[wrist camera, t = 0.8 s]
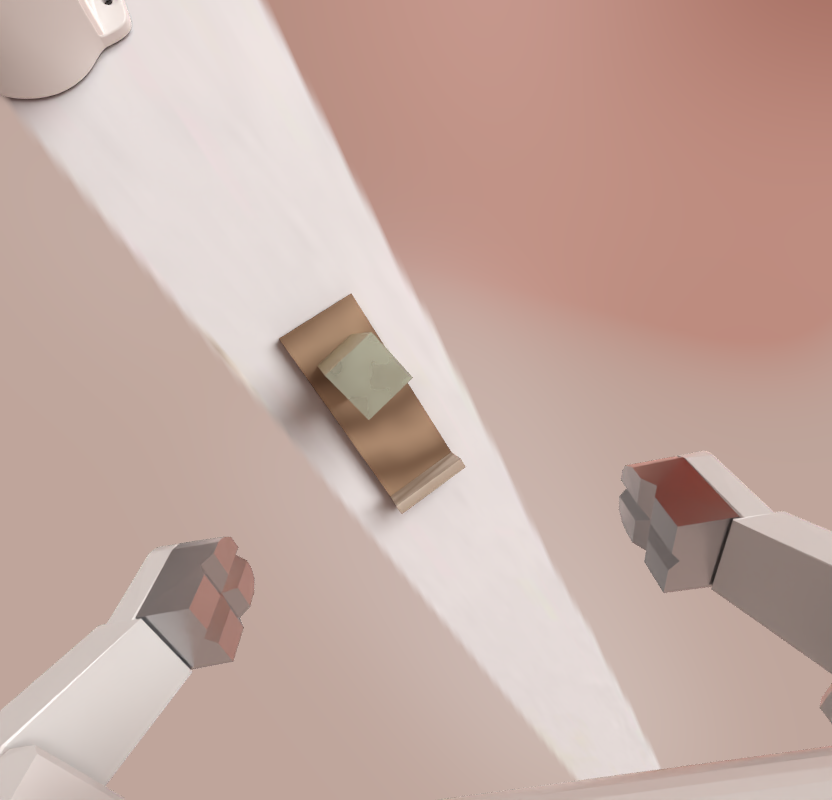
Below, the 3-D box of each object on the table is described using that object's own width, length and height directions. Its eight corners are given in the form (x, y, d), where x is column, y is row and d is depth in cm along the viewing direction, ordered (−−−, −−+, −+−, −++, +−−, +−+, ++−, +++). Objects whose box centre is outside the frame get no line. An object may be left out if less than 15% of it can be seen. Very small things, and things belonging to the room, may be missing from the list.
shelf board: (279, 338, 44) (277, 338, 40) (349, 294, 46) (354, 290, 42) (397, 506, 51) (406, 520, 47) (456, 463, 52) (469, 473, 48)
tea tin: (349, 398, 46) (368, 420, 34) (317, 365, 44) (325, 375, 32) (382, 366, 46) (414, 376, 34) (352, 333, 45) (372, 330, 33)
